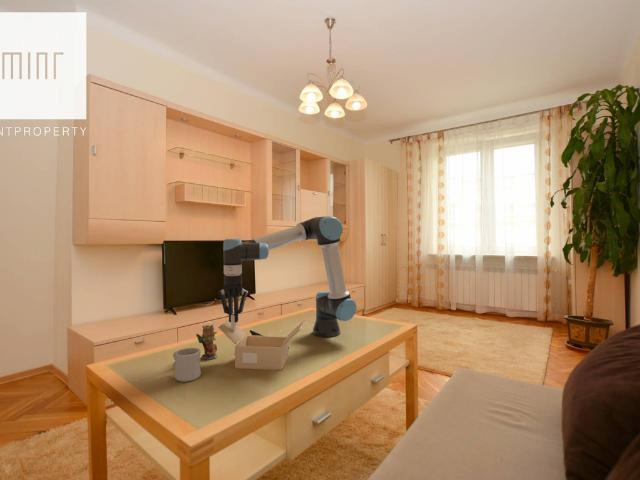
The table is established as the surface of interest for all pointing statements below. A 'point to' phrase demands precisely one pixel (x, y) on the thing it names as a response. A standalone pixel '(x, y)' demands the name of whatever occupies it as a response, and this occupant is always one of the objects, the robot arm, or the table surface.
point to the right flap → (293, 333)
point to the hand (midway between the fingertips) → (233, 329)
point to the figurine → (208, 342)
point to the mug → (187, 364)
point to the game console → (257, 334)
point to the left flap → (232, 332)
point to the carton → (261, 353)
